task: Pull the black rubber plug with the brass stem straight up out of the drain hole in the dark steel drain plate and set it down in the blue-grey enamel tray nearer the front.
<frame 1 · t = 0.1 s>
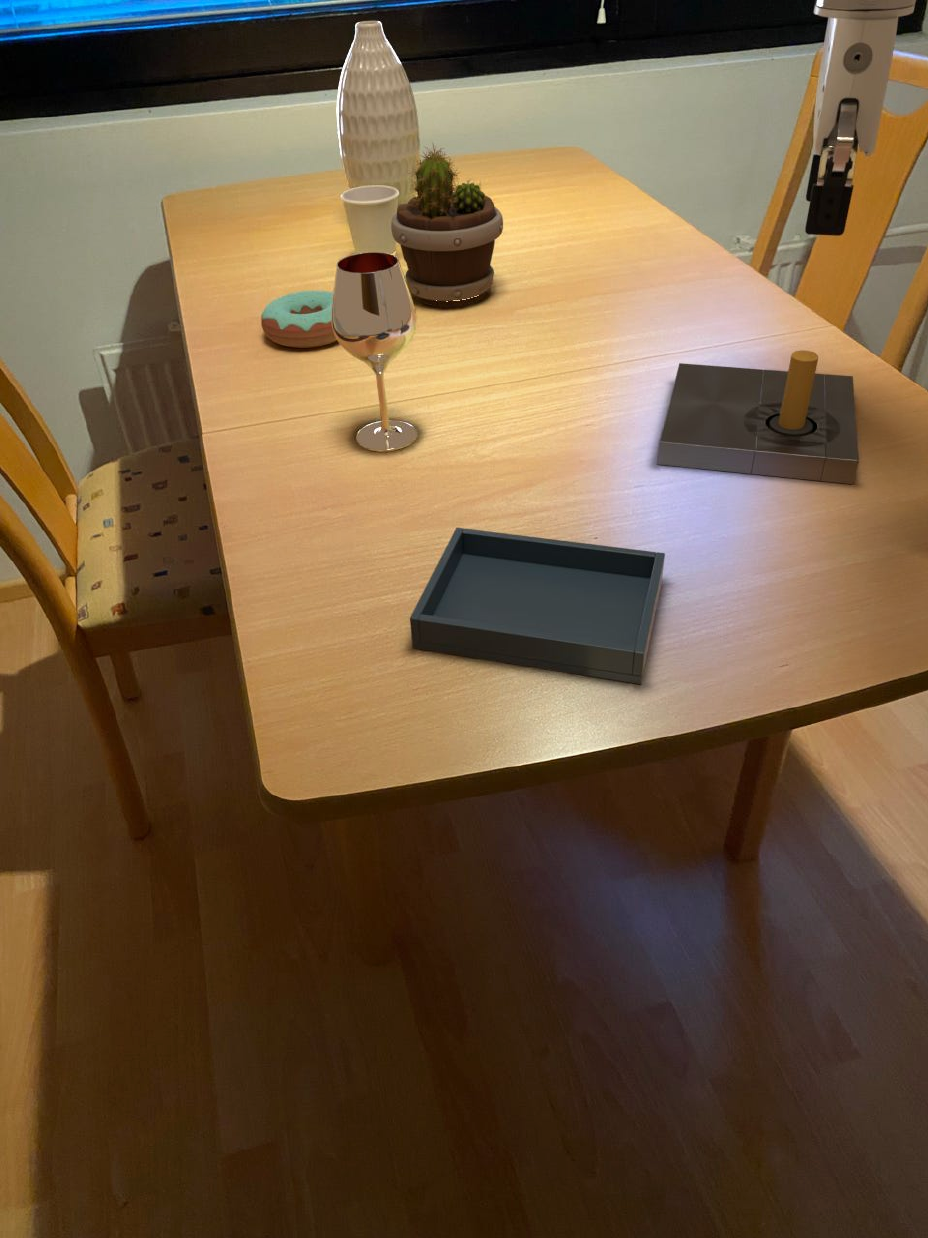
hand: (823, 216, 84), 20 cm above the table, tool pointing down, fingers open, 9 cm apart
vase: (387, 223, 154), on the table
basin tray: (541, 614, 74), on the table
dixie cup: (377, 265, 139), on the table
wineglass: (386, 438, 97), on the table
drain plate: (756, 429, 95), on the table
donut: (311, 335, 119), on the table
flowerpot: (450, 296, 128), on the table
plug: (786, 446, 92), resting in drain plate
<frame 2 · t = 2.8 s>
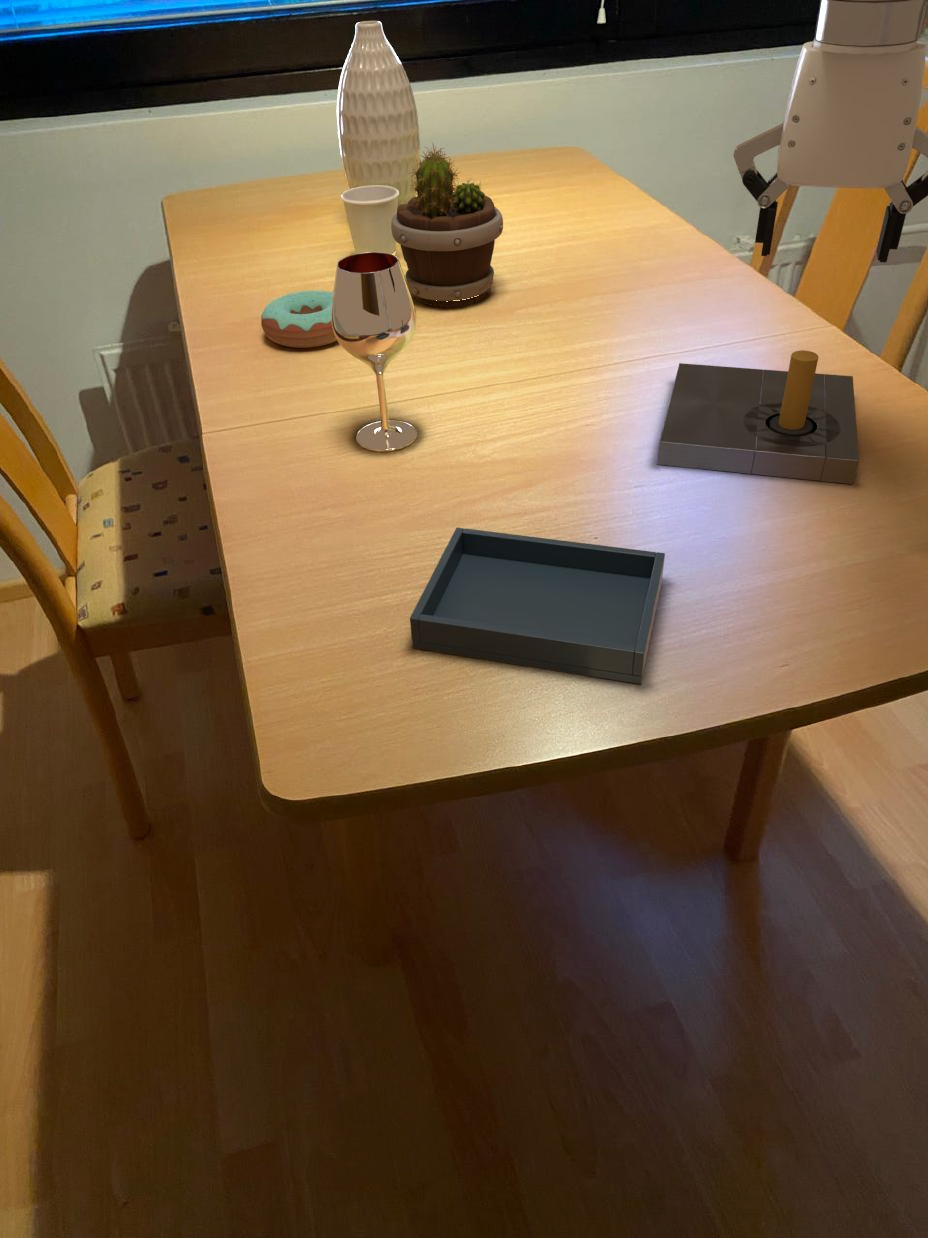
hand: (822, 253, 81), 18 cm above the table, tool pointing down, fingers open, 9 cm apart
nothing on the table moved.
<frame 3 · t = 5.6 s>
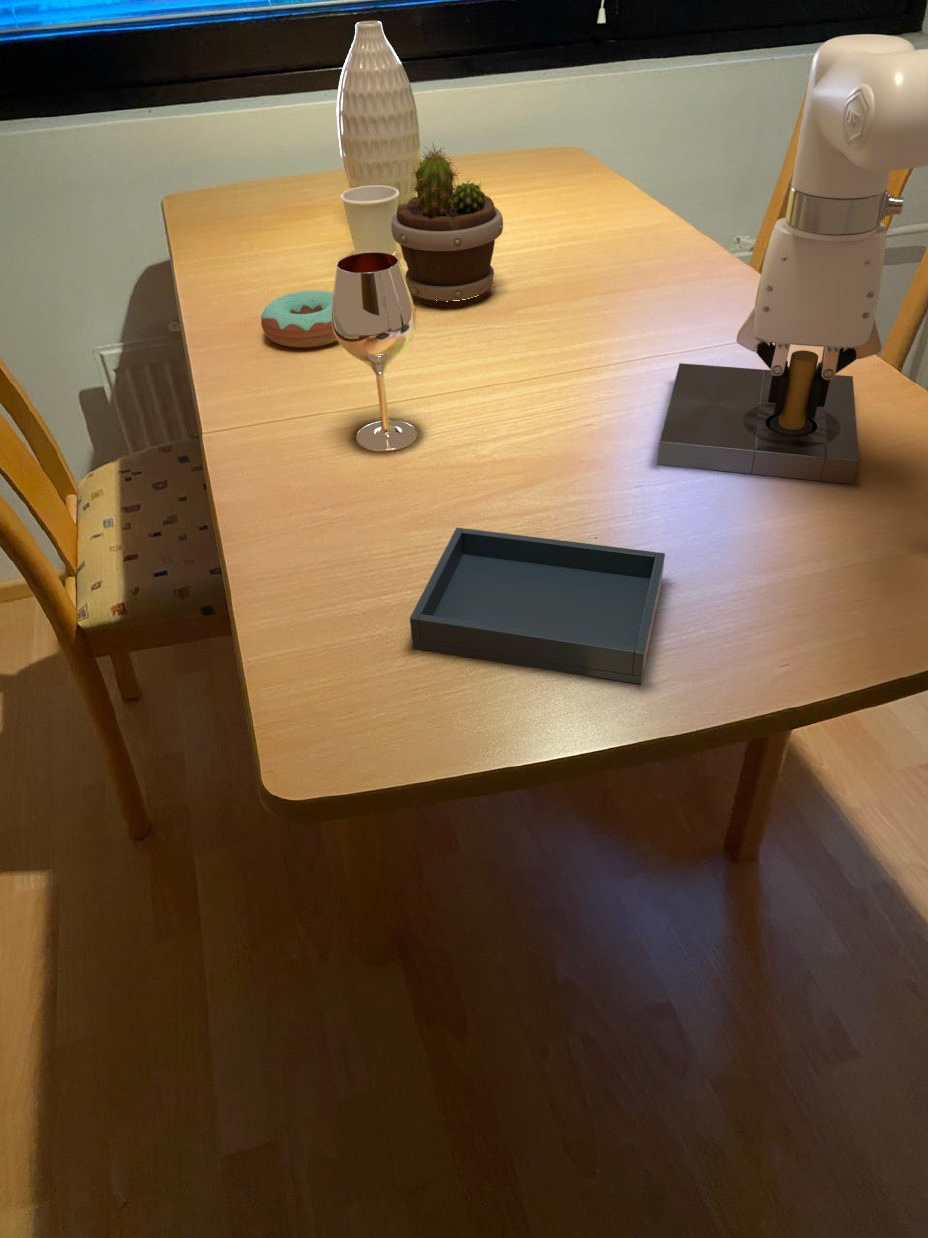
hand: (794, 409, 89), 4 cm above the table, tool pointing down, fingers closed on plug, 2 cm apart
plug: (786, 446, 92), resting in drain plate, touching gripper
everything else where it was.
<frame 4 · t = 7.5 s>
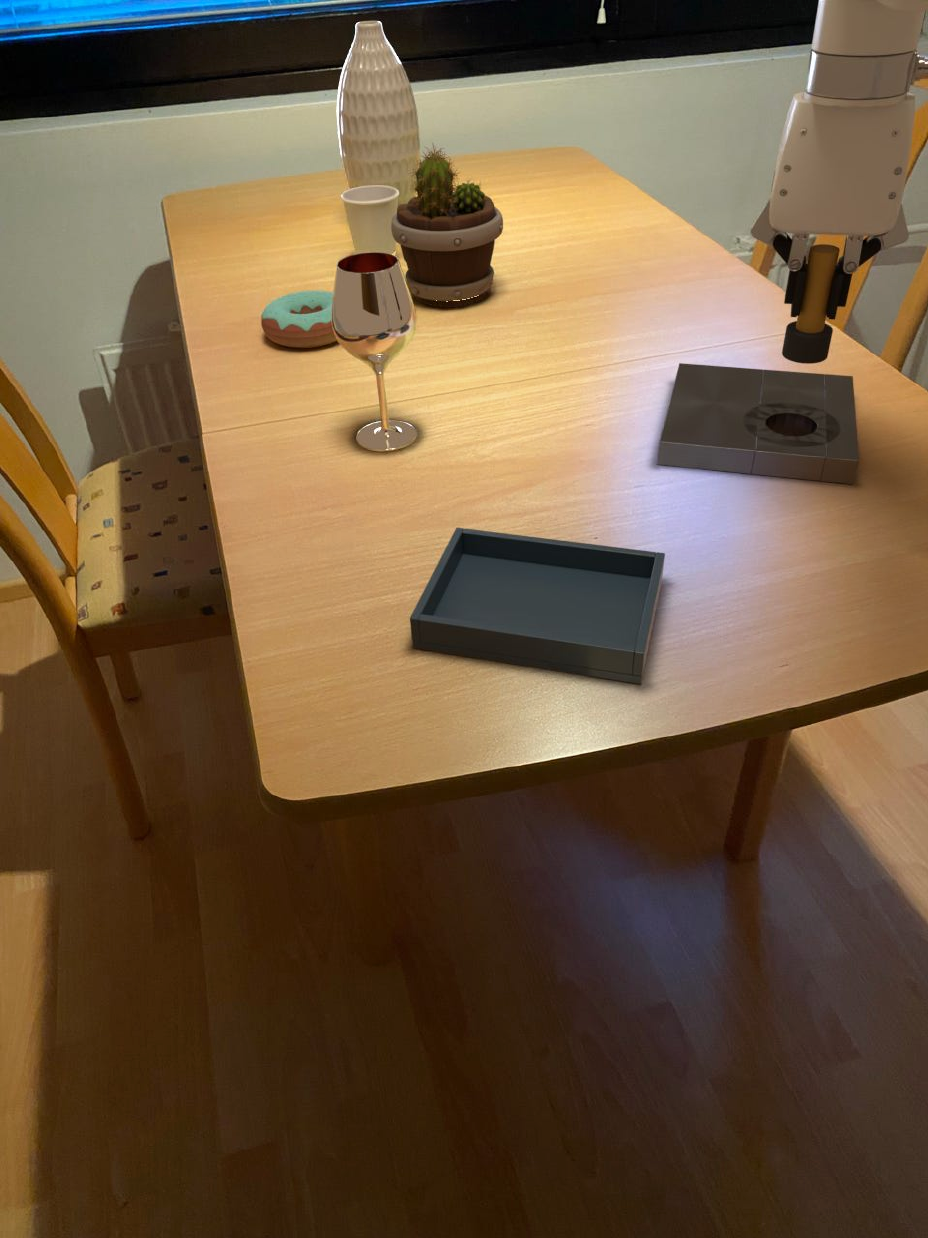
hand: (812, 310, 83), 14 cm above the table, tool pointing down, fingers closed on plug, 2 cm apart
plug: (804, 354, 85), point 10 cm above the table, touching gripper
everything else where it was.
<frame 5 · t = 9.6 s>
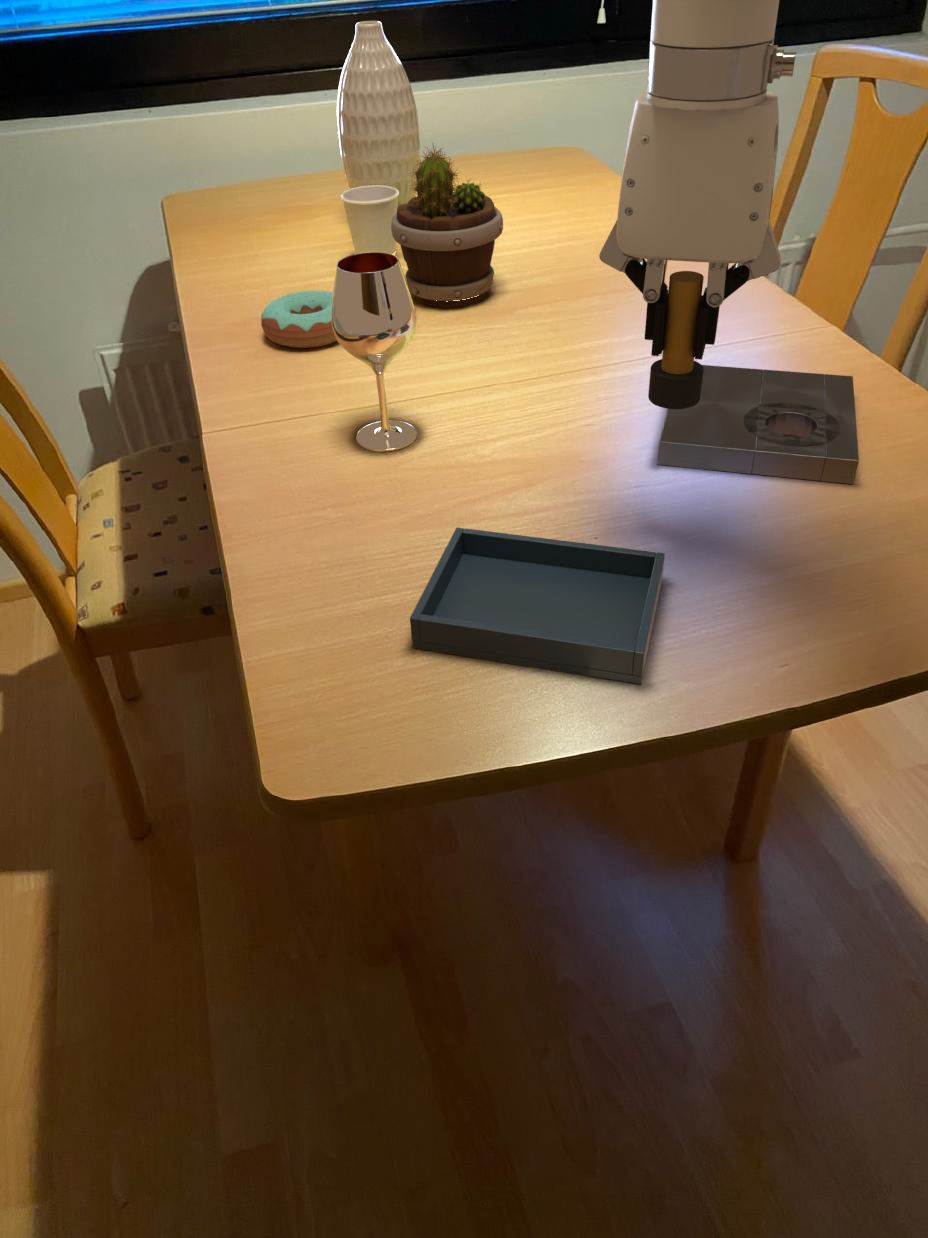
hand: (678, 348, 70), 17 cm above the table, tool pointing down, fingers closed on plug, 2 cm apart
plug: (673, 397, 73), point 13 cm above the table, touching gripper
everything else where it was.
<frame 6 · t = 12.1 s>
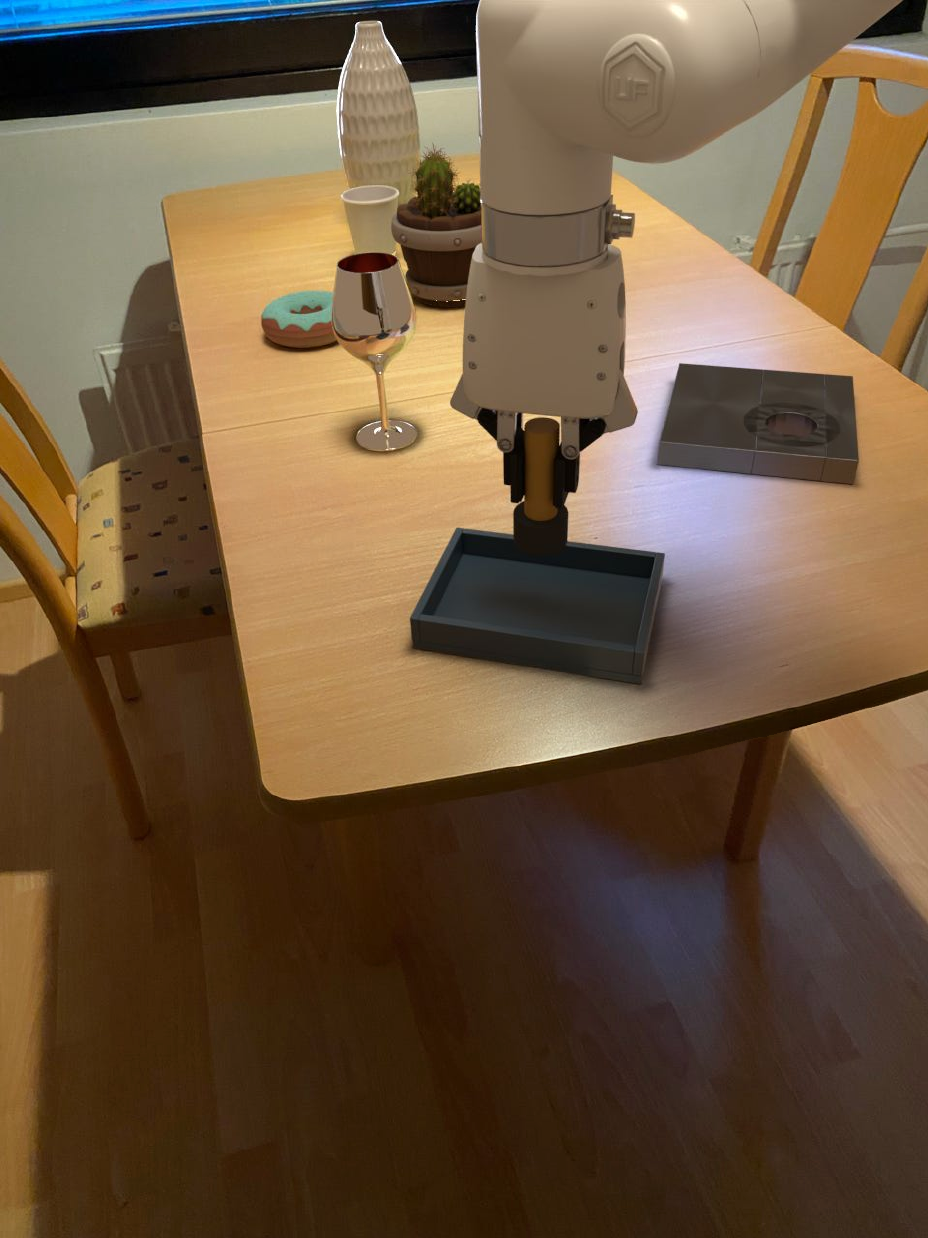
hand: (541, 493, 66), 11 cm above the table, tool pointing down, fingers closed on plug, 2 cm apart
plug: (540, 540, 69), point 7 cm above the table, touching gripper
everything else where it was.
when the fingers open (5 cm above the table, at t = 13.8 s): plug stays where it is, resting on basin tray.
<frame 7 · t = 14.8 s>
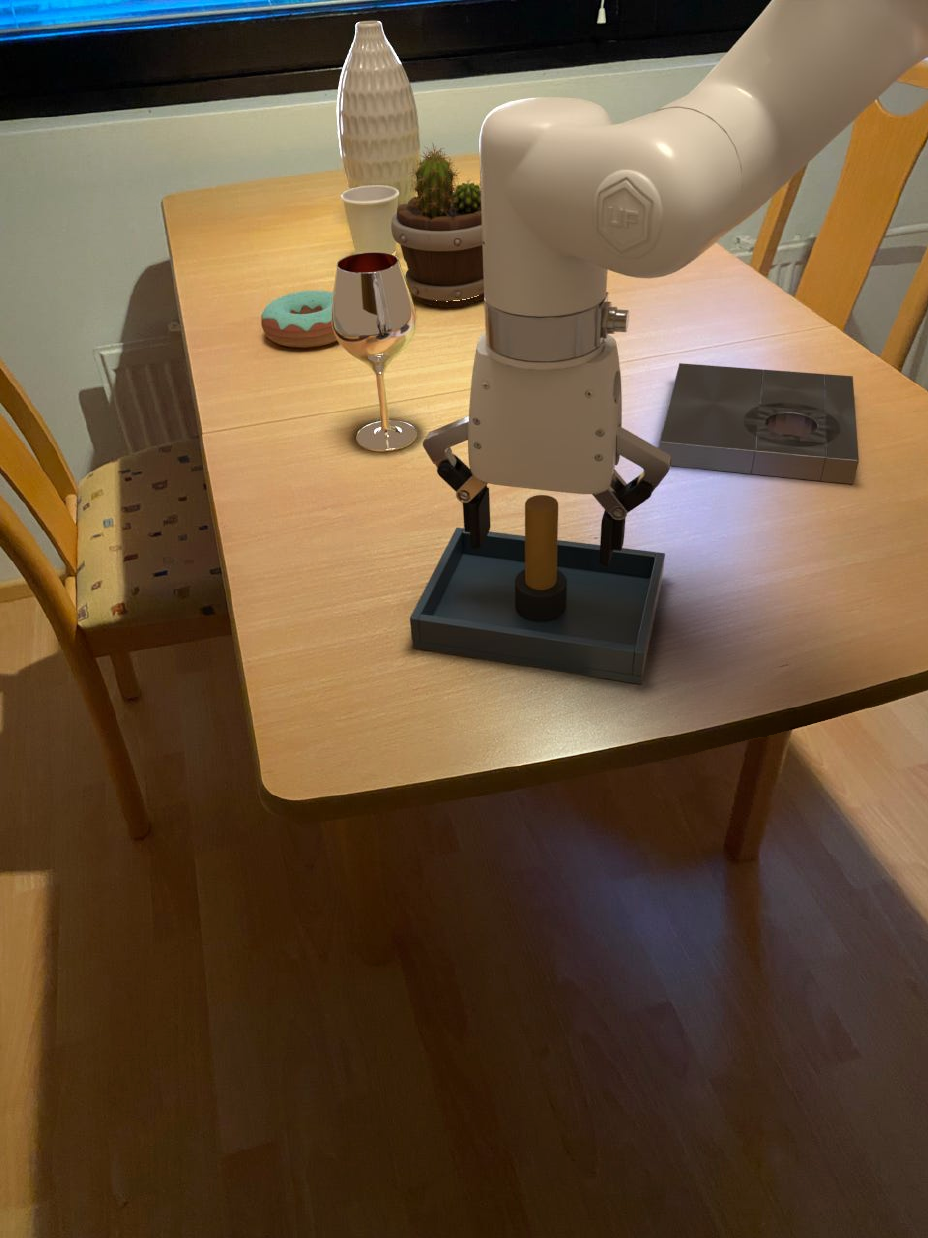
hand: (543, 546, 69), 7 cm above the table, tool pointing down, fingers open, 9 cm apart
plug: (540, 606, 73), point 1 cm above the table, touching basin tray
everything else where it was.
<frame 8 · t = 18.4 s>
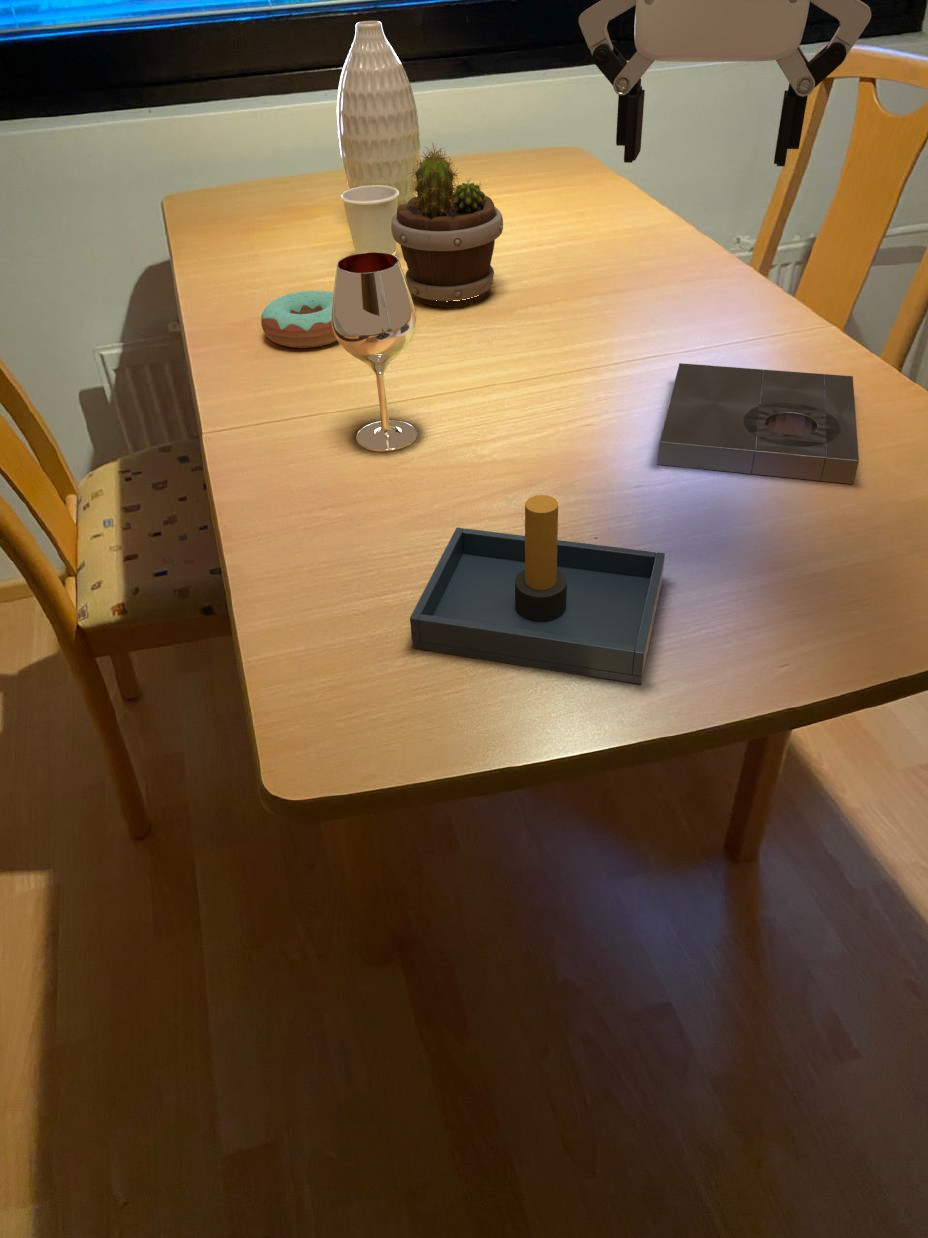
hand: (704, 159, 62), 30 cm above the table, tool pointing down, fingers open, 9 cm apart
nothing on the table moved.
at the end: plug inside the target area on the basin tray (0.1 cm from its centre), point 0.8 cm above the basin tray's base; plug touching basin tray; the gripper is holding nothing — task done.
